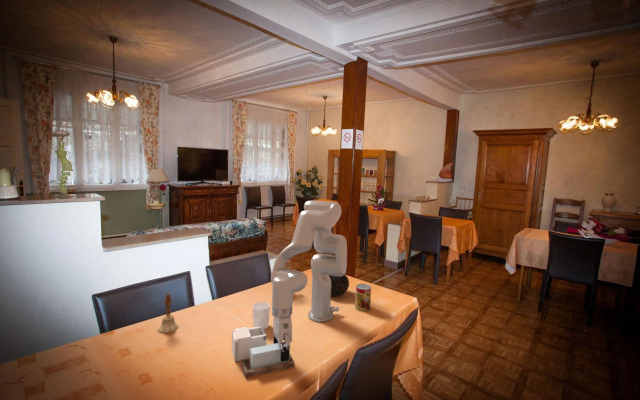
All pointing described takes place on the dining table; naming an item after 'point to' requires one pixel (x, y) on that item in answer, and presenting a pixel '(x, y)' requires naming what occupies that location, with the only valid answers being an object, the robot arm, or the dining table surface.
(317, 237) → the robot arm
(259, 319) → the white cup
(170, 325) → the hand bell
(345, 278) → the black round vase
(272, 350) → the white rectangular block
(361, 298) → the canned food
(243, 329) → the dispenser
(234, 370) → the dining table surface
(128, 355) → the dining table surface
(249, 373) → the tray
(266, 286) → the dining table surface
